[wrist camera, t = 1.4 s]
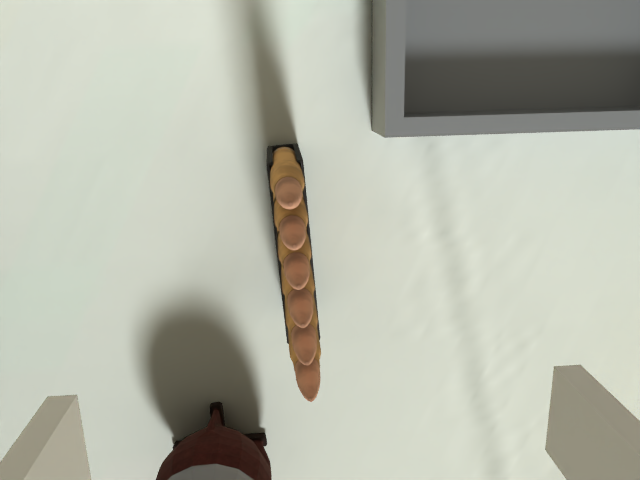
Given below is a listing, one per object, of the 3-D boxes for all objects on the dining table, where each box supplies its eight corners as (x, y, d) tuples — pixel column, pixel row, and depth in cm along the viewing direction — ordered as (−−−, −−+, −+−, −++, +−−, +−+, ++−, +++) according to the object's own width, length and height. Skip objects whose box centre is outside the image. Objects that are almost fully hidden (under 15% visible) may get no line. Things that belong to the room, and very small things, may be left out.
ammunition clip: (266, 146, 33) (263, 183, 21) (298, 143, 33) (311, 178, 22) (285, 311, 36) (291, 421, 25) (314, 308, 36) (333, 416, 25)
